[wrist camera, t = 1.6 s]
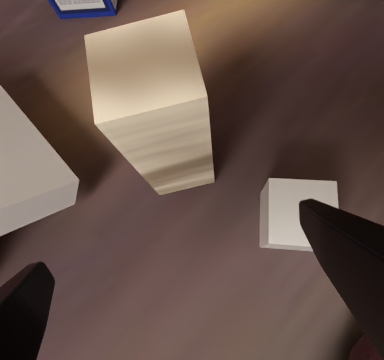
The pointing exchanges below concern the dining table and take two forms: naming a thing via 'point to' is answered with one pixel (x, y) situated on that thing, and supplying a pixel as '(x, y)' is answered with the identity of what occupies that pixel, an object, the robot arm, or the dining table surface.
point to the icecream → (364, 350)
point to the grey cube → (290, 210)
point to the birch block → (153, 100)
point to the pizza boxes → (29, 171)
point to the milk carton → (84, 8)
